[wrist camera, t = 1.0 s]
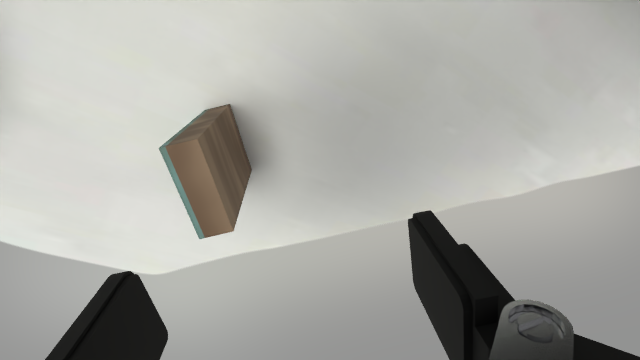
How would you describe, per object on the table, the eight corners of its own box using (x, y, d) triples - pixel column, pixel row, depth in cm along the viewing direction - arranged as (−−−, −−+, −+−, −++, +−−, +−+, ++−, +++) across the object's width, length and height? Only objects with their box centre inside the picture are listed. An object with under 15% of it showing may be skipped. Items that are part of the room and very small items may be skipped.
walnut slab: (229, 104, 32) (197, 138, 21) (251, 169, 34) (233, 231, 23) (204, 110, 32) (158, 148, 21) (228, 175, 34) (199, 239, 23)
